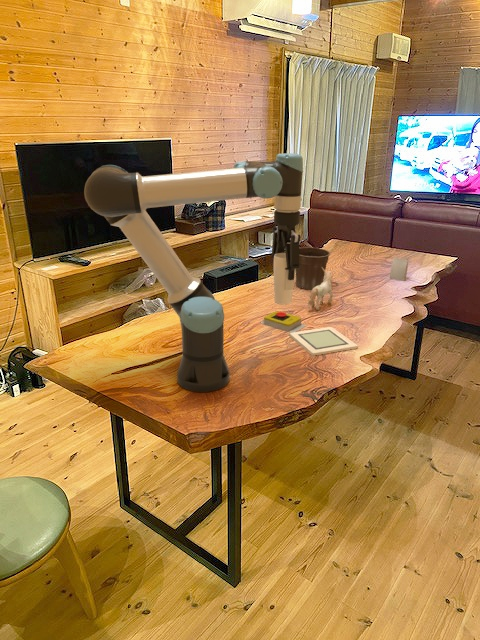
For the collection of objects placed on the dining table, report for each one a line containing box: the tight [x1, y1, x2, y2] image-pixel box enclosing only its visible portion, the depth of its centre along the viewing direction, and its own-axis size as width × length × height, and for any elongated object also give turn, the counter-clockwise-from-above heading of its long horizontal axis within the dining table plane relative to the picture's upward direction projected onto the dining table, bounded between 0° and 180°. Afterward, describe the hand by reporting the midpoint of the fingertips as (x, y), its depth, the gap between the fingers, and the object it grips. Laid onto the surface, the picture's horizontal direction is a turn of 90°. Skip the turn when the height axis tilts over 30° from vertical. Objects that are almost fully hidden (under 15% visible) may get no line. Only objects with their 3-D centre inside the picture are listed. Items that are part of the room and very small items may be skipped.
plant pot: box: [295, 246, 331, 291], centre depth 220 cm, size 16×16×16 cm
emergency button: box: [260, 310, 307, 333], centre depth 180 cm, size 9×4×15 cm
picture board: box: [288, 326, 359, 357], centre depth 167 cm, size 17×17×1 cm
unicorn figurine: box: [307, 268, 334, 312], centre depth 197 cm, size 7×20×13 cm, turn 156°
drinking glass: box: [273, 252, 296, 306], centre depth 149 cm, size 7×7×15 cm
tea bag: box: [389, 257, 409, 282], centre depth 233 cm, size 4×7×10 cm, turn 57°
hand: (283, 285), depth 150 cm, fingers closed on drinking glass, 7 cm apart
